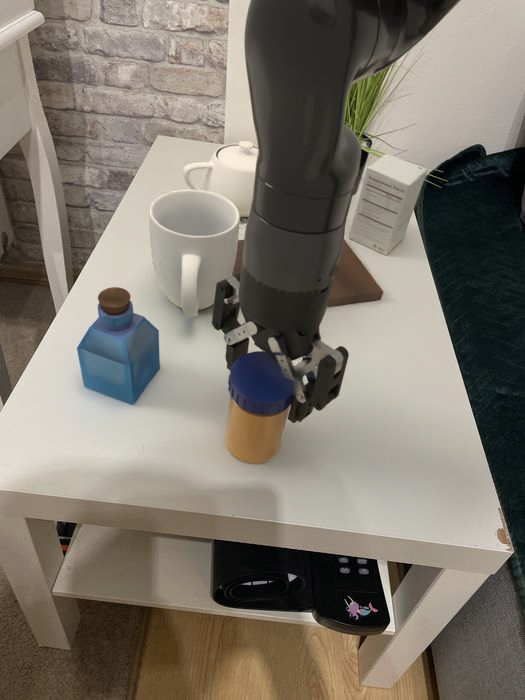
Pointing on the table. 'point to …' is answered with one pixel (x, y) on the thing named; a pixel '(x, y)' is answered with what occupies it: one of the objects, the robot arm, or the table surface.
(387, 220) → the white packaging box
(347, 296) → the board
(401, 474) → the table surface
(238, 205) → the teapot
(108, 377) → the perfume bottle
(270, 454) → the jar
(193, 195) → the mug
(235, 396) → the jar lid
